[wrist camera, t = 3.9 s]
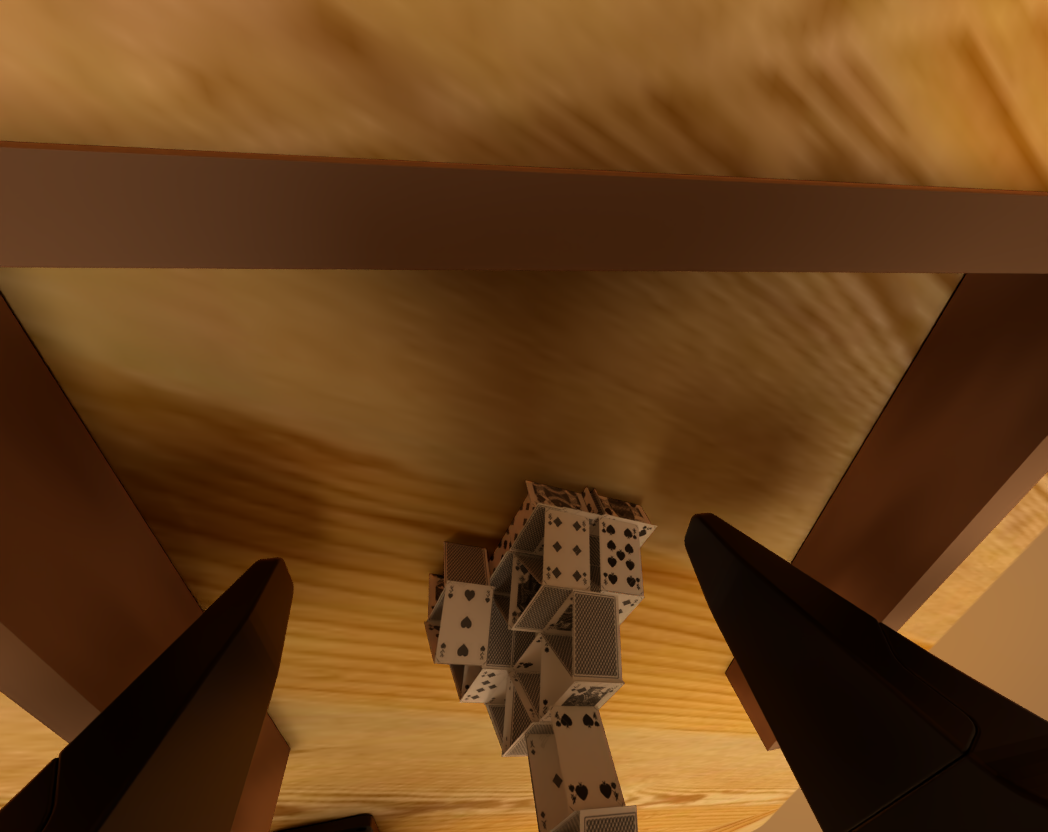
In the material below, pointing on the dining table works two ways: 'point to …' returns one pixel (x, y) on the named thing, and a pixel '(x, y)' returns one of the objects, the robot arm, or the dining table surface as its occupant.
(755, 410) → the dining table surface
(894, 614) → the wooden arch
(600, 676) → the house of cards
